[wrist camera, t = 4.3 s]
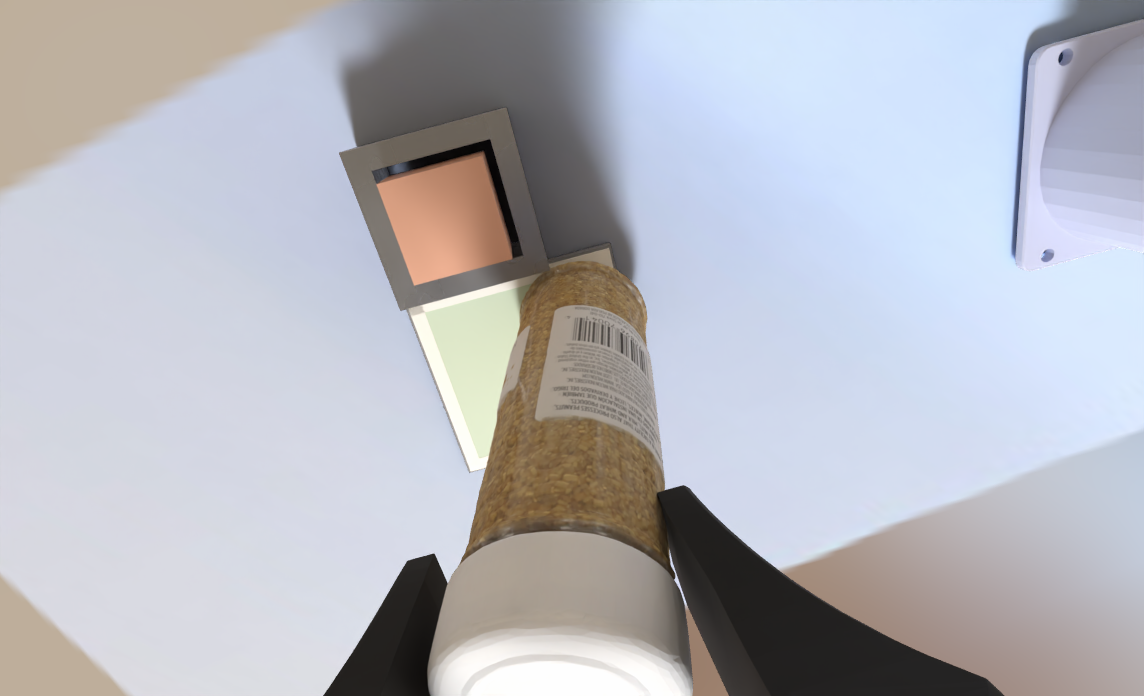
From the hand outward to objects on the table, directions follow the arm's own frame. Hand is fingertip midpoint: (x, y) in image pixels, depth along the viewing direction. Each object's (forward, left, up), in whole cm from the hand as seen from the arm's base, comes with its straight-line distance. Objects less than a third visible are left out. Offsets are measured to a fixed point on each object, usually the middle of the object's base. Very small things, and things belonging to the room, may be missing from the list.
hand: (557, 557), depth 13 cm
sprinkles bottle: (-2, -2, -10) cm, 10 cm away
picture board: (0, 0, -11) cm, 11 cm away
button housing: (+1, -6, -11) cm, 12 cm away
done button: (+1, -6, -9) cm, 11 cm away
